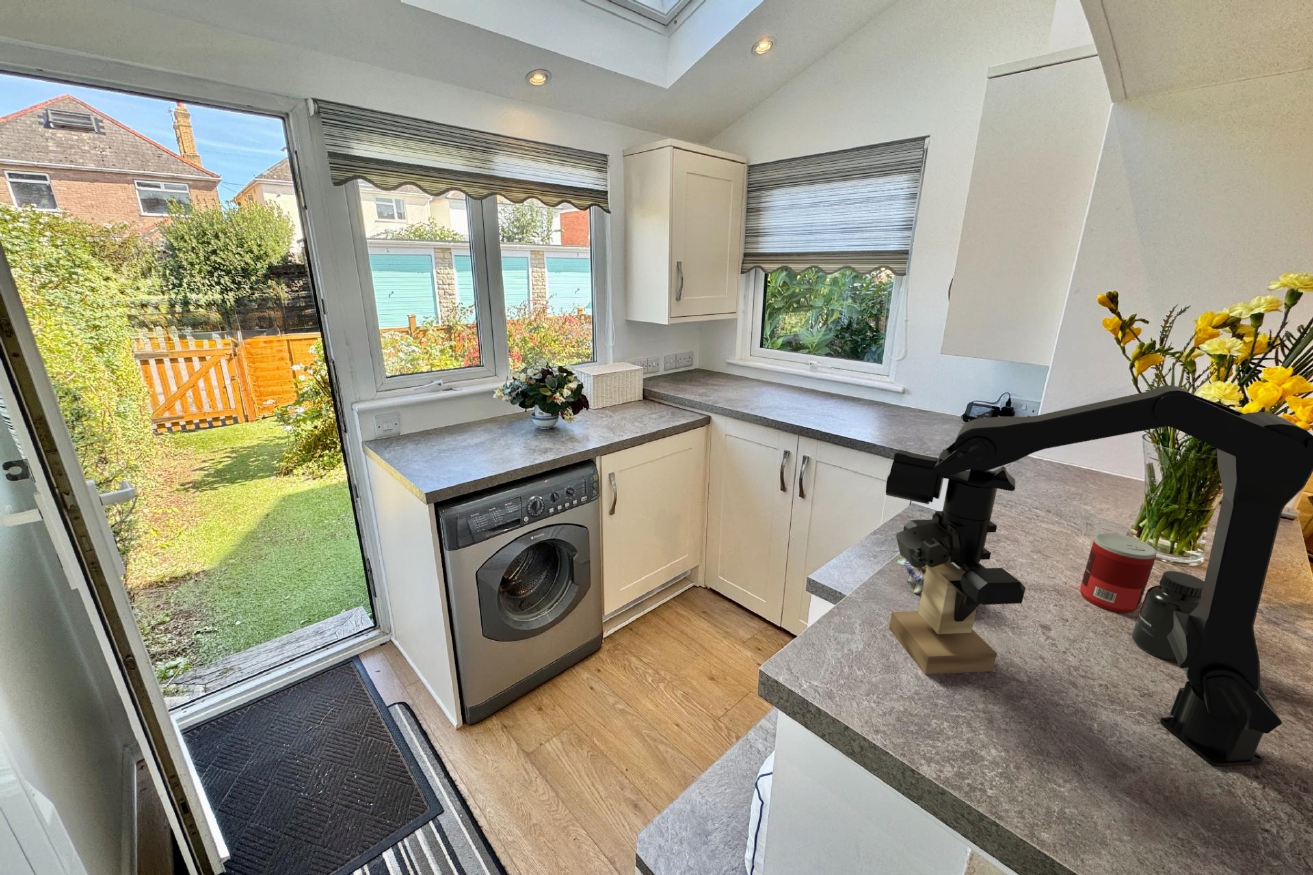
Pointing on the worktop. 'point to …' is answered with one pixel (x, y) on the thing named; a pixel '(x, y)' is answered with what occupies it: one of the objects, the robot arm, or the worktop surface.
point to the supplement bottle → (1165, 611)
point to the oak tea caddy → (942, 600)
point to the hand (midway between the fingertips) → (946, 609)
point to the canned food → (1117, 572)
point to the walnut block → (941, 646)
